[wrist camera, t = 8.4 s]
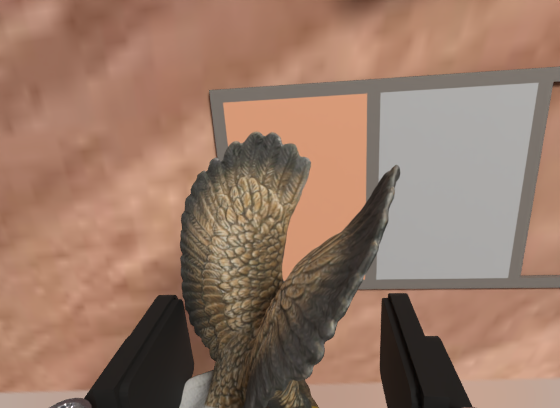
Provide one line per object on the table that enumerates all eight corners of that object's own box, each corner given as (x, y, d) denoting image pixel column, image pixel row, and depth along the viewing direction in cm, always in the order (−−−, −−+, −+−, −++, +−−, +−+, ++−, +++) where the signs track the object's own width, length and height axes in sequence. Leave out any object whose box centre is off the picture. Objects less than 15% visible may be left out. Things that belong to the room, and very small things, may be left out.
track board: (742, 54, 20) (748, 54, 20) (668, 284, 25) (672, 286, 25) (210, 90, 24) (209, 90, 23) (234, 288, 28) (234, 290, 28)
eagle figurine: (448, 386, 12) (465, 127, 8) (342, 652, 8) (260, 367, 4) (273, 308, 17) (227, 116, 13) (141, 446, 12) (3, 216, 8)
